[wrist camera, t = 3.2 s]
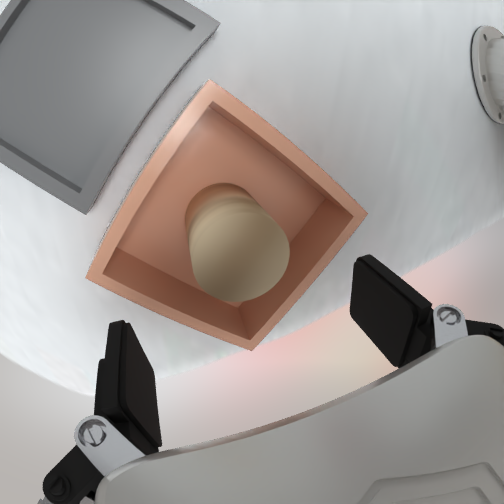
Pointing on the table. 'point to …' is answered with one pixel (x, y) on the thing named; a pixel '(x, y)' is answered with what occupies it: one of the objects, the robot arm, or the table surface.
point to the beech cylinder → (234, 243)
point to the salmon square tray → (195, 179)
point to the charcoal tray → (86, 84)
